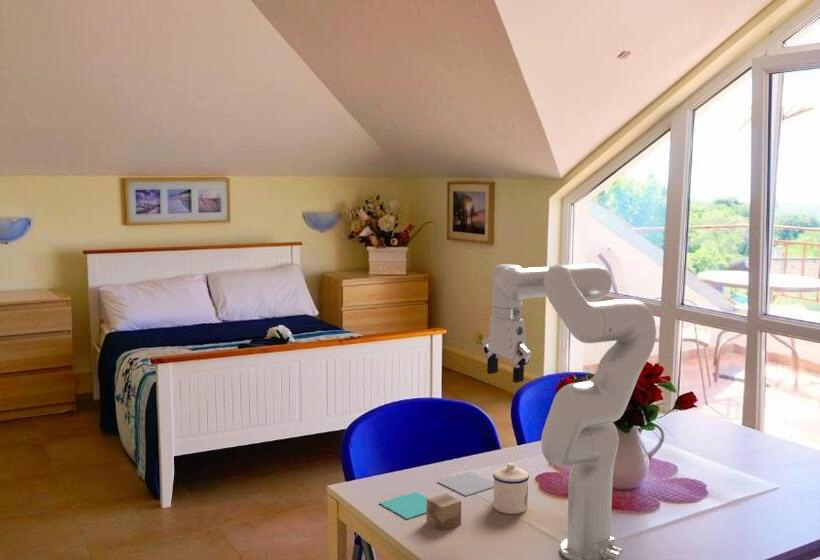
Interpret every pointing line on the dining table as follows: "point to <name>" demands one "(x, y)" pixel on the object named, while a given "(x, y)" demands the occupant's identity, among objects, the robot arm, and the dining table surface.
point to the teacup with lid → (510, 489)
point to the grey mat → (467, 483)
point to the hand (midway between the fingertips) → (505, 377)
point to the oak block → (443, 511)
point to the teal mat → (408, 505)
